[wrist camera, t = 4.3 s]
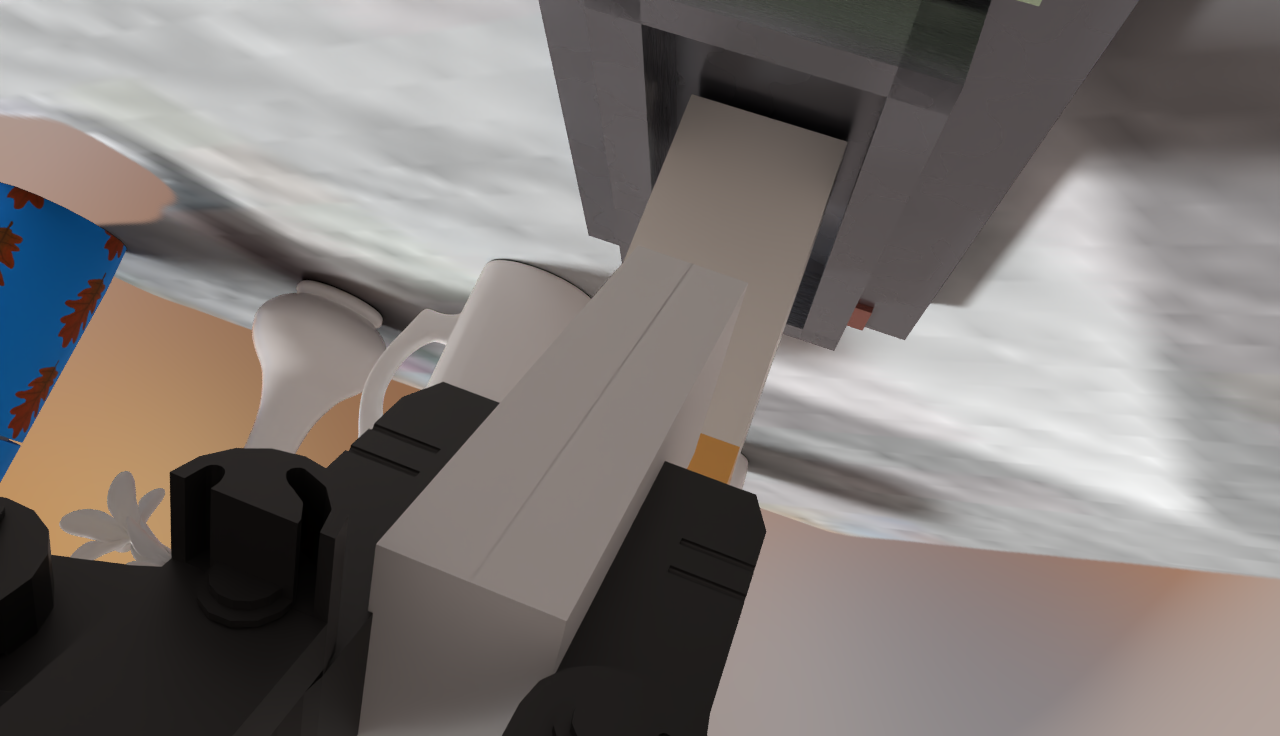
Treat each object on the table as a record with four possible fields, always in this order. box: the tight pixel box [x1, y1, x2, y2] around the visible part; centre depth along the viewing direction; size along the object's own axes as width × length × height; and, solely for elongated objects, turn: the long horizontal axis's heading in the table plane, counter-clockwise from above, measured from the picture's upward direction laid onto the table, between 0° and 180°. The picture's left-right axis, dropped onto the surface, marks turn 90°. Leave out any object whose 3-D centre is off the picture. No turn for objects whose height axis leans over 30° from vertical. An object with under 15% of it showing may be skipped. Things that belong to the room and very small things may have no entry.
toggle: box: [624, 94, 848, 485], centre depth 25 cm, size 4×4×9 cm
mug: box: [358, 260, 591, 438], centre depth 49 cm, size 10×7×12 cm, turn 98°
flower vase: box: [60, 280, 386, 567], centre depth 66 cm, size 13×18×25 cm
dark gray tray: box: [539, 0, 1139, 351], centre depth 26 cm, size 20×12×4 cm, turn 2°
